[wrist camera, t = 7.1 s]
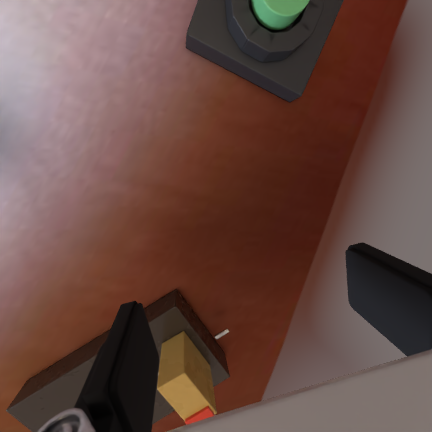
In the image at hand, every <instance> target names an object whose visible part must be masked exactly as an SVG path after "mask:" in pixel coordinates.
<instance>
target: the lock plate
mask: <svg viewBox="0 0 432 432" xmlns="http://www.w3.org/2000/svg"><path fill="white" fill-rule="evenodd" d="M144 311H145V314H146V317H147V321H148V324H149V327H150V330H151V333H152V336H153V339H154V342H155V345H156V348H157V351H158V354H159V366H160V356H161V347H162V343H164V342H166V341H167V340H169V339H171V338H172V337H174V336H176V335H178V334H179V333H181V332H183V331H184V332H185V333H186V334H187V336H188V337H189V338H190V340H191V341H192V342H193V344H194V345H195V346H196V348H197V349H198V350H199V352H200V353H201V354H202V356H203V357H204V358H205V360H206V361H207V362H208V364H209V365H210V368H211V375H212V382H213V387H214V386H215V385H217V384H219V383H220V382H222V381H224V380H225V379H227V378H229V377H230V375H229V370H228V366H227V361H226V357H225V353H224V352H223V350H222V349H221V348H220V346H219V345H218V344H217V342H216V341H215V340H214V338H213V337H212V336H211V334H210V333H209V332H208V330H207V329H206V328H205V326H204V325H203V324H202V322H201V321H200V320H199V318H198V317H197V316H196V314H195V313H194V312H193V310H192V309H191V308H190V306H189V305H188V304H187V302H186V301H185V300H184V298H183V297H182V296H181V294H180V293H179V292H178V290H177V289H176V290H174V291H172V292H171V293H169V294H167V295H166V296H164V297H163V298H161V299H159V300H158V301H156V302H154V303H153V304H151V305H150V306H148V307H146V308H145V309H144ZM109 332H110V330H109V331H107V332H106V333H104V334H102V335H101V336H99V337H97V338H96V339H94V340H93V341H91V342H89V343H88V344H86V345H84V346H83V347H81V348H80V349H78V350H76V351H75V352H73V353H71V354H70V355H68V356H67V357H65V358H63V359H62V360H60V361H58V362H57V363H55V364H54V365H52V366H50V367H49V368H47V369H45V370H44V371H42V372H41V373H39V374H37V375H36V376H34V377H32V378H31V379H29V380H27V381H26V383H25V384H24V386H23V387H22V389H21V390H20V391H19V393H18V394H17V396H16V397H15V399H14V400H13V401H12V403H11V404H10V406H9V407H8V409H7V410H6V411H7V412H8V413H10V414H11V415H12V416H13V417H15V418H16V419H17V420H18V421H20V422H21V423H22V424H23V425H25V426H26V427H27V428H28V429H30V430H31V431H32V432H38V430H39V429H40V428H41V427H42V426H43V425H44V424H45V423H46V422H48V421H49V420H50V419H51V418H53V417H54V416H56V415H57V414H59V413H61V412H63V411H65V410H67V409H72V408H74V406H75V404H76V402H77V399H78V397H79V395H80V393H81V390H82V388H83V386H84V383H85V381H86V379H87V377H88V374H89V372H90V370H91V368H92V365H93V363H94V361H95V358H96V356H97V354H98V352H99V349H100V347H101V345H102V344H103V343H105V342H106V339H107V337H108V334H109ZM228 332H229V331H228V329H225V330H223V331H222V332H220V333H218V334H217V335H215V338H216V339H218V338H220V337H221V336H223V335H225V334H226V333H228ZM158 375H159V370H158ZM157 384H158V378H157ZM173 411H175V409H174V408H173V407H172V406H171V405H170V403H169V402H168V401H167V400H166V399H165V398H164V397H163V395H162V394H161V393H160V392H159V391H158V390H157V387H156V396H155V404H154V413H153V422H152V424H153V423H155V422H157V421H158V420H160V419H162V418H163V417H165V416H167V415H168V414H170V413H171V412H173Z"/></svg>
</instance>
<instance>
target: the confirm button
mask: <svg viewBox="0 0 432 432" xmlns="http://www.w3.org/2000/svg"><path fill="white" fill-rule="evenodd" d="M309 1H310V0H251V4H252V9H253V12H254V14H255V16H256V18H257V19H258V21H259V22H260V23H261V24H262V25H263V26H265V27H267V28H269V29H272V30H281V29H284V28H286V27H288V26H290V25H291V24H292V23H293V22H294V21H295V19H296V18H297V17H298V16H299V14H300V13H301V12H302V11H303V9H304V8H305V7H306V6H307V4H308V3H309Z"/></svg>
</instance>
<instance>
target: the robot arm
mask: <svg viewBox="0 0 432 432" xmlns="http://www.w3.org/2000/svg"><path fill="white" fill-rule="evenodd" d="M346 268H347V284H348V298H349V303H350V305H351V307H352V308H353V309H354V310H355V311H356V312H357V313H358V314H360V315H361V316H362V317H363V318H364V319H365V320H366V321H368V322H369V323H370V324H371V325H372V326H373V327H374V328H376V329H377V330H378V331H379V332H380V333H381V334H382V335H383V336H385V337H386V338H387V339H388V340H389V341H390V342H391V343H393V344H394V345H395V346H396V347H397V348H398V349H400V350H401V351H402V352H403V353H404V354H405V355H406V356H407V357H404V358H401V359H398V360H394V361H391V362H388V363H384V364H381V365H378V366H374V367H371V368H368V369H364V370H361V371H358V372H355V373H352V374H348V375H345V376H341V377H338V378H335V379H332V380H328V381H325V382H322V383H318V384H315V385H312V386H309V387H305V388H302V389H299V390H296V391H292V392H289V393H286V394H283V395H279V396H276V397H273V398H270V399H267V400H263V401H260V402H257V403H254V404H251V405H247V406H244V407H241V408H238V409H235V410H231V411H228V412H225V413H222V414H219V415H215V416H212V417H209V418H206V419H203V420H200V421H197V422H194V423H191V424H188V425H185V426H182V427H179V428H176V429H173V430H170V431H167V432H432V274H431V273H428V272H426V271H424V270H422V269H420V268H418V267H415V266H413V265H411V264H409V263H406V262H405V261H402V260H400V259H398V258H396V257H394V256H391V255H389V254H387V253H385V252H383V251H381V250H378V249H376V248H374V247H372V246H370V245H368V244H365V243H358V244H355V245H350V246H349V247H348V250H346ZM158 370H159V354H158V351H157V348H156V345H155V342H154V339H153V336H152V333H151V330H150V327H149V324H148V321H147V317H146V314H145V311H144V308H143V306H142V304H141V303H139V304H138V303H137V302H136V301H133V302H129V303H125V304H122V305H121V306H120V309H119V311H118V313H117V316H116V318H115V320H114V323H113V325H112V327H111V330H110V332H109V334H108V337H107V339H106V342H105V343H103V344H102V345H101V347H100V349H99V352H98V354H97V356H96V358H95V361H94V363H93V365H92V368H91V370H90V372H89V374H88V377H87V379H86V381H85V383H84V386H83V388H82V390H81V393H80V395H79V397H78V399H77V402H76V404H75V406H74V408H72V409H67V410H65V411H63V412H61V413H59V414H57V415H56V416H54V417H53V418H51V419H50V420H49V421H48V422H46V423H45V424H44V425H43V426H42V427H41V428H40V429H39V430H38V432H151V430H152V422H153V413H154V404H155V396H156V387H157V378H158Z"/></svg>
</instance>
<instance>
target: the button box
mask: <svg viewBox="0 0 432 432" xmlns="http://www.w3.org/2000/svg"><path fill="white" fill-rule="evenodd" d="M342 3H343V0H310V1H309V3H308V4H307V6H306V7H305V8H304V9H303V11H302V12H301V13H300V14H299V16H298V17H297V18H296V19H295V21H294V22H293V23H292V24H291V25H290V26H288V27H286V28H284V29H281V30H272V29H269V28H267V27H265V26H263V25H262V24H261V23H260V22H259V21H258V19H257V18H256V16H255V14H254V12H253V9H252V4H251V0H198V2H197V5H196V8H195V11H194V14H193V16H192V19H191V22H190V25H189V28H188V31H187V36H186V48H187V49H189V50H191V51H193V52H195V53H197V54H199V55H201V56H203V57H205V58H206V59H208V60H210V61H212V62H214V63H216V64H218V65H220V66H222V67H224V68H225V69H227V70H229V71H231V72H233V73H235V74H237V75H239V76H241V77H243V78H245V79H246V80H248V81H250V82H252V83H254V84H256V85H258V86H260V87H262V88H264V89H265V90H267V91H269V92H271V93H273V94H275V95H277V96H279V97H281V98H283V99H285V100H286V101H288V102H291V101H293V100H295V99H297V98H299V97H300V96H302V94H303V91H304V89H305V87H306V84H307V82H308V80H309V78H310V75H311V73H312V71H313V69H314V66H315V64H316V62H317V59H318V57H319V55H320V53H321V50H322V48H323V46H324V44H325V41H326V39H327V37H328V34H329V32H330V30H331V28H332V25H333V23H334V21H335V19H336V16H337V14H338V12H339V9H340V7H341V5H342Z"/></svg>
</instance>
